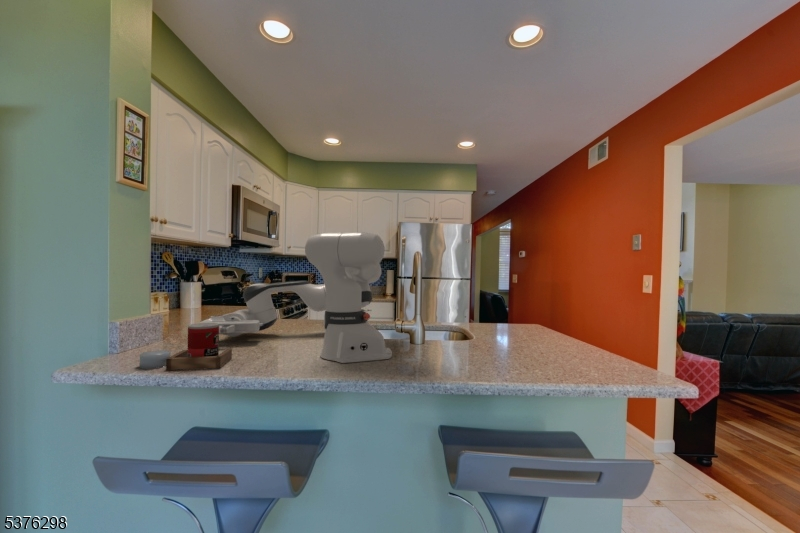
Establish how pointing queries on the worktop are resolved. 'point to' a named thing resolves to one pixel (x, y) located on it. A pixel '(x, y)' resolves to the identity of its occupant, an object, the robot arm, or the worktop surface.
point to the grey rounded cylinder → (154, 359)
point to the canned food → (203, 340)
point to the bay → (197, 361)
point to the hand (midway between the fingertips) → (223, 330)
